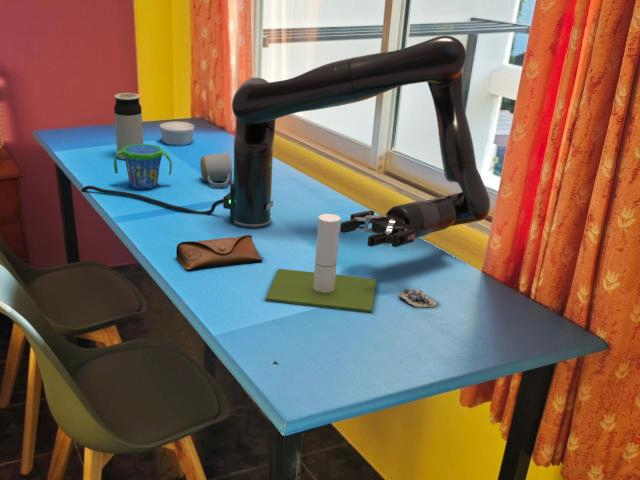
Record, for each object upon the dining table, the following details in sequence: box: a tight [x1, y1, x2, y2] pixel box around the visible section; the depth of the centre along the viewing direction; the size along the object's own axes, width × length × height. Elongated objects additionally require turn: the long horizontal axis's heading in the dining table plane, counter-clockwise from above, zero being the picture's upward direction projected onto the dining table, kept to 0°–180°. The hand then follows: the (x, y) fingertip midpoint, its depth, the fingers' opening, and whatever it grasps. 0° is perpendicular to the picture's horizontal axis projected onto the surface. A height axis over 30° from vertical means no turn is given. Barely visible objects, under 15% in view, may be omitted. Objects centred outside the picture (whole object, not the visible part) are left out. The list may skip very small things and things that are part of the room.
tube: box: [313, 213, 341, 293], centre depth 154 cm, size 4×4×15 cm
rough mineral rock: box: [397, 288, 437, 308], centre depth 155 cm, size 7×8×2 cm
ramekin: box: [159, 121, 195, 146], centre depth 250 cm, size 11×11×5 cm
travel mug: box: [113, 92, 144, 161], centre depth 231 cm, size 8×8×18 cm
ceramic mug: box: [200, 152, 233, 189], centre depth 215 cm, size 11×8×8 cm
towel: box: [265, 268, 378, 314], centre depth 158 cm, size 21×15×1 cm
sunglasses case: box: [175, 234, 263, 271], centre depth 170 cm, size 18×7×7 cm, turn 112°
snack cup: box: [113, 143, 173, 190], centre depth 210 cm, size 16×10×10 cm
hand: (355, 234), depth 156 cm, fingers open, 8 cm apart
